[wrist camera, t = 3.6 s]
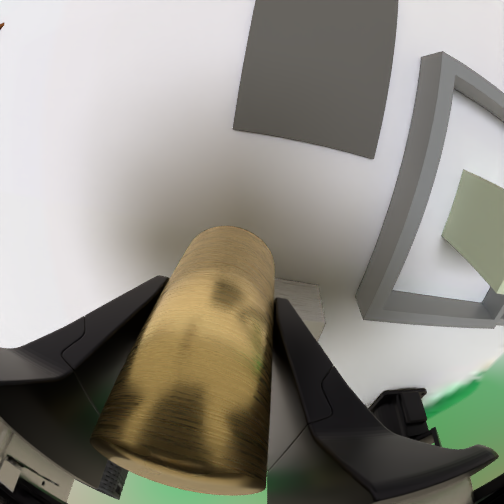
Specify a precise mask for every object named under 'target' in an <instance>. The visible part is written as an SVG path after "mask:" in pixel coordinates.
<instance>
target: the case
mask: <svg viewBox="0 0 504 504" xmlns="http://www.w3.org/2000/svg"><path fill="white" fill-rule="evenodd" d="M454 89H456V90H457V91H459V92H461V93H462V94H464V95H466V96H467V97H469V98H470V99H472V100H473V101H475V102H476V103H478V104H479V105H481V106H482V107H484V108H485V109H487V110H488V111H489V112H491V113H492V114H494V115H495V116H496V117H498V118H499V119H500V120H502V121H503V122H504V93H503V92H501V91H500V90H499V89H498V88H496V87H495V86H494V85H493V84H491V83H490V82H489V81H487V80H486V79H485V78H483V77H482V76H480V75H479V74H478V73H476V72H475V71H473V70H472V69H470V68H469V67H467V66H466V65H464V64H463V63H461V62H460V61H458V60H456V59H455V58H453V57H451V56H450V55H448V54H446V53H445V52H443V51H442V52H438V53H434V54H430V55H427V56H423V57H421V66H420V74H419V81H418V88H417V94H416V100H415V106H414V112H413V117H412V122H411V127H410V131H409V136H408V140H407V144H406V149H405V153H404V157H403V161H402V165H401V168H400V172H399V176H398V179H397V183H396V186H395V190H394V193H393V196H392V200H391V203H390V206H389V209H388V212H387V215H386V218H385V221H384V224H383V227H382V230H381V233H380V236H379V238H378V241H377V244H376V247H375V249H374V252H373V255H372V257H371V260H370V262H369V265H368V267H367V270H366V272H365V275H364V277H363V280H362V282H361V284H360V287H359V289H358V291H357V294H356V296H355V297H356V300H357V303H358V306H359V309H360V312H361V315H362V318H363V320H370V321H380V322H390V323H401V324H413V325H427V326H442V327H461V328H490V329H494V328H495V326H496V325H502V326H504V295H503V294H497V293H496V292H495V291H494V290H493V289H492V288H490V289H489V291H488V293H487V295H486V297H485V298H484V300H483V302H482V303H478V302H470V301H463V300H455V299H448V298H441V297H434V296H427V295H420V294H413V293H406V292H400V291H393V290H392V289H393V287H394V285H395V283H396V281H397V278H398V276H399V274H400V272H401V270H402V267H403V265H404V263H405V260H406V258H407V256H408V253H409V251H410V249H411V246H412V244H413V241H414V239H415V236H416V233H417V231H418V228H419V225H420V223H421V220H422V217H423V214H424V211H425V208H426V205H427V202H428V199H429V196H430V193H431V190H432V187H433V183H434V180H435V176H436V173H437V169H438V165H439V162H440V158H441V154H442V150H443V145H444V141H445V136H446V132H447V127H448V121H449V116H450V110H451V104H452V97H453V90H454Z"/></svg>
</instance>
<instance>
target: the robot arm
mask: <svg viewBox="0 0 504 504" xmlns="http://www.w3.org/2000/svg"><path fill="white" fill-rule="evenodd" d="M168 281H169V278H168V277H164V276H156V277H154V278H152V279H150V280H149V281H147V282H145V283H143V284H141V285H139V286H137V287H136V288H134V289H132V290H130V291H128V292H126V293H125V294H123V295H121V296H119V297H117V298H115V299H114V300H112V301H110V302H108V303H106V304H105V305H103V306H101V307H99V308H97V309H96V310H94V311H92V312H90V313H89V314H87V315H85V317H84V316H83V317H81V318H80V319H78V320H76V321H74V322H72V323H70V324H69V325H67V326H65V327H63V328H61V329H59V330H57V331H54V332H52V333H50V334H48V335H46V336H44V337H41V338H39V339H37V340H35V341H33V342H30V343H28V344H26V345H24V346H21V347H18V348H0V504H68V503H66V502H67V499H68V496H69V493H70V490H71V487H72V484H73V482H74V479H77V480H79V481H81V482H83V483H85V484H87V485H89V486H91V487H93V488H96V489H98V487H99V484H100V481H101V478H102V475H103V472H104V469H105V467H106V464H107V461H108V459H107V458H106V457H104V456H103V455H101V454H100V453H99V452H98V451H97V450H96V449H94V447H93V446H92V445H91V443H90V437H91V435H92V433H93V430H94V428H95V426H96V423H97V421H98V419H99V416H100V414H101V412H102V410H103V408H104V405H105V403H106V401H107V399H108V397H109V394H110V392H111V390H112V388H113V386H114V384H115V382H116V380H117V378H118V375H119V373H120V371H121V369H122V367H123V365H124V363H125V361H126V359H127V357H128V355H129V353H130V351H131V349H132V347H133V345H134V343H135V341H136V339H137V338H138V336H139V334H140V332H141V330H142V328H143V326H144V324H145V322H146V320H147V319H148V317H149V315H150V313H151V311H152V309H153V307H154V306H155V304H156V302H157V300H158V298H159V297H160V295H161V293H162V291H163V289H164V288H165V286H166V284H167V282H168ZM426 393H427V391H426V389H419V390H405V391H387V392H384V393H383V394H382V395H381V396H380V397H379V398H378V399H377V400H376V401H375V403H374V404H373V405H372V406H371V407H370V408H369V409H368V408H367V407H366V406H365V405H364V404H363V402H362V401H361V400H360V399H359V398H358V397H357V396H356V394H355V393H354V392H353V391H352V390H351V388H350V387H349V386H348V385H347V383H346V382H345V381H344V379H343V378H342V376H341V375H340V374H339V372H338V371H337V369H336V368H335V367H334V366H333V364H332V362H331V361H330V359H329V358H328V356H327V355H326V354H325V352H324V351H323V349H322V348H321V346H320V345H319V343H318V342H317V341H316V339H315V338H314V336H313V335H312V333H311V332H310V330H309V329H308V328H307V326H306V325H305V323H304V322H303V320H302V319H301V317H300V316H299V315H298V313H297V312H296V310H295V309H294V307H293V306H292V304H291V303H290V302H289V300H288V299H286V298H280V297H276V298H275V300H274V327H273V359H272V385H271V407H270V427H269V445H268V462H267V471H268V472H267V504H504V473H503V474H501V475H500V476H498V477H497V478H495V479H493V480H492V481H490V482H488V483H487V484H485V485H483V486H481V487H479V488H478V489H476V490H474V491H473V489H472V483H471V479H470V476H472V475H473V474H475V473H477V472H478V471H480V470H481V469H483V468H485V467H486V466H488V465H489V464H491V463H492V462H493V461H495V460H496V459H497V458H498V457H499V456H498V454H497V453H496V452H495V451H494V450H493V449H491V448H489V447H486V446H483V445H475V446H472V447H469V448H466V449H459V450H457V449H448V448H443V447H442V446H441V442H440V438H439V435H438V432H437V430H436V427H434V428H432V429H431V430H428V426H427V423H426V420H427V417H426V413H425V410H424V407H423V404H422V401H421V398H422V397H423V396H424V395H425V394H426ZM432 443H435V445H431V444H432Z"/></svg>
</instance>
